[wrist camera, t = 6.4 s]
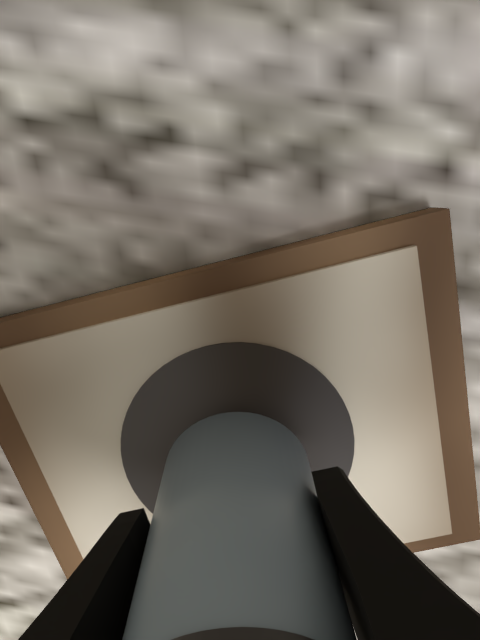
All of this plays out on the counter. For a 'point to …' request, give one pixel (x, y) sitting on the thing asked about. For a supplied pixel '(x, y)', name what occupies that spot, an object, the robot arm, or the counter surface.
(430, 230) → the cream rectangular board
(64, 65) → the counter surface
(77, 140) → the counter surface
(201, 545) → the grey canister
